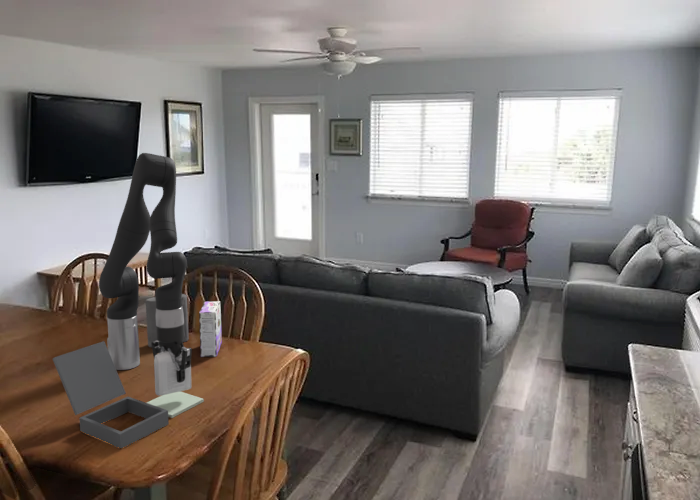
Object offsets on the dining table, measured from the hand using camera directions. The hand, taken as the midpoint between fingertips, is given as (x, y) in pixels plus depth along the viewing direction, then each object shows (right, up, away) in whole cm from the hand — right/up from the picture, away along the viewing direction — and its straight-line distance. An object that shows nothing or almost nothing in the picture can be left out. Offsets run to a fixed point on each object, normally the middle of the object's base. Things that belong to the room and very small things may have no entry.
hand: (173, 379), depth 166 cm
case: (-9, -10, -13) cm, 18 cm away
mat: (0, -8, +1) cm, 8 cm away
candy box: (0, 0, +44) cm, 44 cm away
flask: (-17, +2, +52) cm, 54 cm away
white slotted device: (0, -4, +1) cm, 4 cm away
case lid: (-20, +3, -8) cm, 21 cm away
